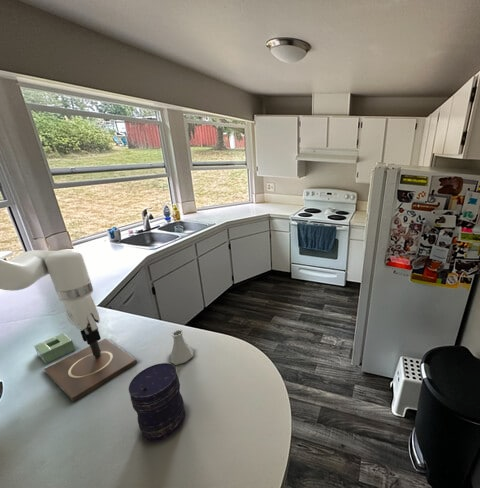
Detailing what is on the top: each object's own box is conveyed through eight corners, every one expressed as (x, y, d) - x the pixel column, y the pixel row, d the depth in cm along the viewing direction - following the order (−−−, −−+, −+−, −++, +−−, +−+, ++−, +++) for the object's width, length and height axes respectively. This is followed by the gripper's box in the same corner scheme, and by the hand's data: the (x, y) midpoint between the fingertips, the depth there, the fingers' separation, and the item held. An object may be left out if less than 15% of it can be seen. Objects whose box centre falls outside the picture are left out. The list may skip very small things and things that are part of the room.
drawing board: (73, 402, 69) (71, 397, 69) (45, 372, 78) (43, 368, 77) (137, 362, 83) (136, 358, 82) (107, 341, 91) (105, 337, 91)
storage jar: (158, 403, 70) (147, 361, 65) (193, 405, 70) (185, 363, 64) (131, 441, 60) (116, 396, 55) (171, 444, 60) (160, 399, 55)
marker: (95, 359, 81) (85, 328, 77) (92, 356, 82) (82, 326, 78) (103, 354, 83) (93, 325, 79) (100, 352, 84) (90, 322, 80)
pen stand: (46, 363, 81) (42, 354, 80) (38, 355, 84) (33, 345, 83) (75, 349, 87) (71, 340, 86) (66, 342, 90) (63, 333, 89)
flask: (189, 345, 90) (185, 323, 87) (196, 357, 86) (192, 333, 82) (167, 356, 86) (161, 332, 82) (173, 368, 81) (167, 343, 77)
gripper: (47, 288, 75) (66, 338, 81) (70, 304, 68) (89, 357, 74) (79, 278, 81) (95, 325, 87) (103, 292, 74) (118, 342, 80)
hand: (92, 339), depth 80 cm, fingers closed on marker, 2 cm apart
